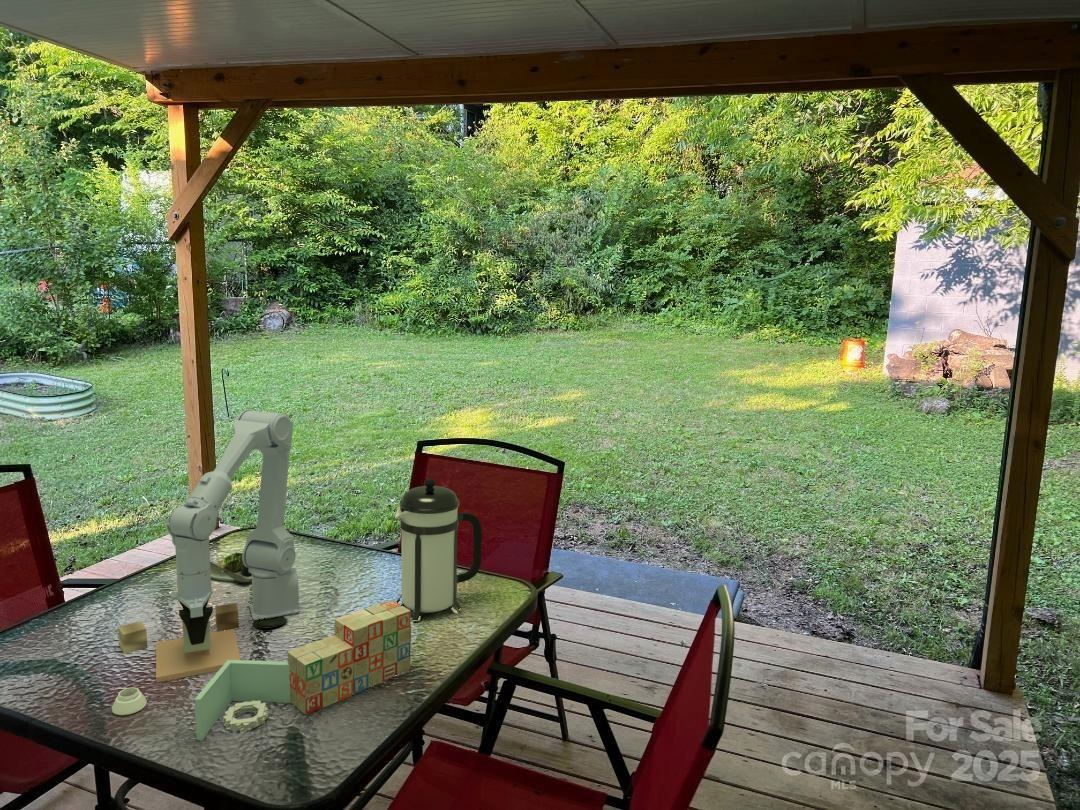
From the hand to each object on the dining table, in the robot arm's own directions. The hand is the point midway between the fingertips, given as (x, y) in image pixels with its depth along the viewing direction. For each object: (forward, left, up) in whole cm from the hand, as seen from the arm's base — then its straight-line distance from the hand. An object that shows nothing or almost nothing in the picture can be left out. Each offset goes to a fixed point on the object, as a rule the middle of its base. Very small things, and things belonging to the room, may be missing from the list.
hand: (196, 637), depth 138 cm
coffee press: (-48, -3, -4) cm, 48 cm away
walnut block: (-6, -11, -4) cm, 13 cm away
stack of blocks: (-24, +22, -4) cm, 33 cm away
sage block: (0, 0, -2) cm, 2 cm away
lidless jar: (+11, +14, -4) cm, 18 cm away
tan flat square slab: (0, 0, -4) cm, 4 cm away
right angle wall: (-7, +25, -5) cm, 26 cm away
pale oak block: (+11, -9, -4) cm, 15 cm away
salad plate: (-13, -40, -4) cm, 42 cm away
